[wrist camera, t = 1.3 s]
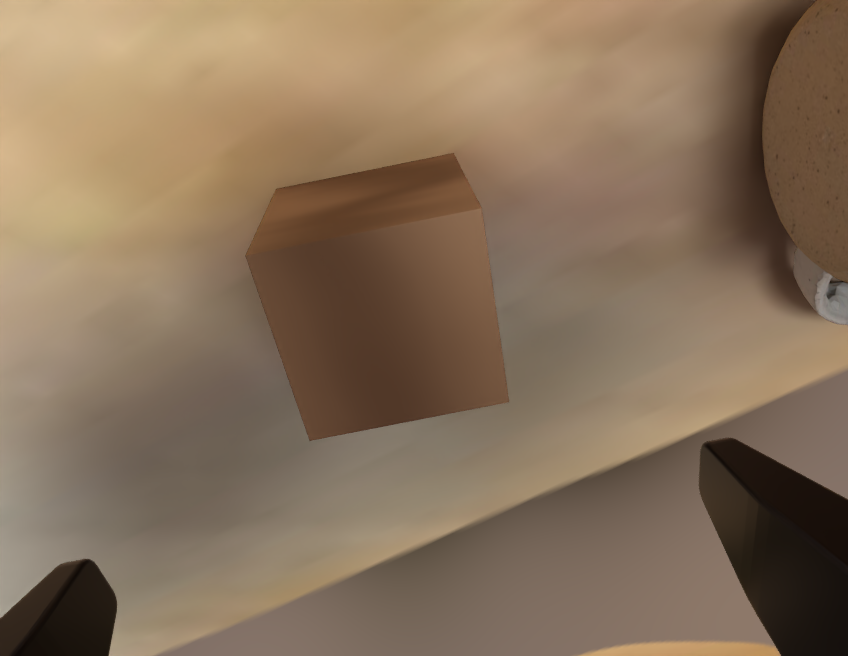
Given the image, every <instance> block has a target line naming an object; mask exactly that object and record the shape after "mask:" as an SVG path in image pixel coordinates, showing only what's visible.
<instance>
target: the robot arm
mask: <svg viewBox="0 0 848 656" xmlns="http://www.w3.org/2000/svg"><path fill="white" fill-rule="evenodd" d="M699 490H700V494H701V497H702V500H703V502H704V505H705V507H706V509H707V511H708V514H709V516H710V518H711V520H712V522H713V524H714V527H715V529H716V531H717V533H718V535H719V538H720V540H721V542H722V544H723V546H724V549H725V551H726V553H727V555H728V557H729V559H730V561H731V564H732V566H733V568H734V570H735V573H736V575H737V577H738V579H739V581H740V583H741V585H742V588H743V590H744V592H745V594H746V596H747V598H748V600H749V601H750V603H751V605H752V607H753V608H754V610H755V612H756V614H757V616H758V617H759V619H760V621H761V622H762V624H763V626H764V627H765V629H766V631H767V633H768V634H769V636H770V638H771V639H772V641H773V643H774V644H775V646H776V648H777V649H778V651H779V653H780V654H781V656H848V499H846V498H844V497H843V496H841V495H839V494H837V493H835V492H833V491H831V490H830V489H828V488H826V487H824V486H822V485H820V484H818V483H816V482H815V481H813V480H811V479H809V478H807V477H805V476H803V475H802V474H800V473H798V472H796V471H794V470H792V469H790V468H789V467H787V466H785V465H783V464H781V463H779V462H777V461H776V460H774V459H772V458H770V457H768V456H766V455H764V454H762V453H761V452H759V451H757V450H755V449H753V448H751V447H749V446H748V445H746V444H744V443H742V442H740V441H738V440H736V439H733V438H723V439H718V440H712V441H707V442H705V443H703V445H702V446H701V451H700V470H699ZM116 613H117V600H116V596H115V593H114V591H113V590H112V588H111V587H110V585H109V583H108V582H107V580H106V579H105V577H104V576H103V574H102V573H101V571H100V569H99V568H98V566H97V565H96V563H95V562H93V561H92V560H90V559H82V560H76V561H71V562H66V563H63V564H60V565H59V566H57V567H56V568H55V569H54V570H53V571H52V572H51V573H49V574H48V575H47V576H46V577H45V578H44V579H43V580H42V581H41V582H40V583H39V584H37V585H36V586H35V587H34V588H33V589H32V590H31V591H30V592H29V593H28V594H27V595H25V596H24V597H23V598H22V599H21V600H20V601H19V602H18V603H17V604H16V605H15V606H13V607H12V608H11V609H10V610H9V611H8V612H7V613H6V614H5V615H4V616H3V617H1V618H0V656H109V650H110V645H111V640H112V634H113V629H114V623H115V618H116Z"/></svg>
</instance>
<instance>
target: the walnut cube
mask: <svg viewBox="0 0 848 656" xmlns="http://www.w3.org/2000/svg"><path fill="white" fill-rule="evenodd" d="M246 259H247V261H248V264H249V267H250V270H251V273H252V276H253V279H254V282H255V284H256V287H257V290H258V293H259V296H260V299H261V302H262V305H263V308H264V310H265V313H266V316H267V319H268V322H269V325H270V328H271V331H272V333H273V336H274V339H275V342H276V345H277V348H278V351H279V354H280V356H281V359H282V362H283V365H284V368H285V371H286V374H287V377H288V380H289V382H290V385H291V388H292V391H293V394H294V397H295V400H296V403H297V405H298V408H299V411H300V414H301V417H302V420H303V423H304V426H305V428H306V431H307V434H308V437H309V440H310V441H311V440H317V439H322V438H327V437H332V436H337V435H342V434H347V433H352V432H358V431H363V430H368V429H373V428H378V427H383V426H388V425H393V424H399V423H404V422H409V421H414V420H419V419H424V418H429V417H434V416H440V415H445V414H450V413H455V412H460V411H465V410H470V409H475V408H481V407H486V406H491V405H496V404H501V403H506V402H509V397H508V390H507V383H506V376H505V369H504V362H503V355H502V348H501V341H500V334H499V327H498V320H497V313H496V306H495V299H494V292H493V285H492V278H491V271H490V264H489V257H488V250H487V243H486V236H485V229H484V222H483V215H482V208H481V206H480V204H479V202H478V200H477V198H476V196H475V194H474V192H473V190H472V188H471V186H470V184H469V183H468V181H467V179H466V177H465V175H464V173H463V171H462V169H461V167H460V165H459V163H458V161H457V159H456V157H455V155H454V153H451V154H447V155H442V156H437V157H432V158H427V159H422V160H417V161H412V162H407V163H402V164H397V165H392V166H387V167H382V168H378V169H373V170H368V171H363V172H358V173H353V174H348V175H343V176H338V177H333V178H328V179H323V180H318V181H313V182H309V183H304V184H299V185H294V186H289V187H284V188H279V189H276V191H275V193H274V195H273V197H272V199H271V201H270V204H269V206H268V208H267V210H266V212H265V215H264V217H263V219H262V221H261V223H260V225H259V228H258V230H257V232H256V234H255V236H254V238H253V241H252V243H251V245H250V247H249V249H248V251H247V254H246Z"/></svg>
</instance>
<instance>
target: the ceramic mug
mask: <svg viewBox="0 0 848 656" xmlns="http://www.w3.org/2000/svg"><path fill="white" fill-rule="evenodd" d="M762 142H763V155H764V169H765V174H766V178H767V182H768V187H769V191H770V195H771V198H772V200H773V203H774V206H775V208H776V211H777V213H778V216H779V219H780V221H781V223H782V224H783V226H784V227H785V229H786V231H787V232H788V234H789V235H790V237H791V239H792V240H793V242H794V243H795V245H796V246H797V249H796V251H795V257H794V266H793V269H794V277H795V279H796V281H797V284H798V285H799V287H800V289H801V291H802V293H803V295H804V296H805V298H806V299H807V300H808V302H809V303H810V305H811V306H812V308H813V309H814V310H815V311H816V312H817V313H818V314H819V315H821V316H822V317H823V318H825V319H826V320H828V321H830V322H833V323H836V324H841V325H848V0H817V1H816V2H814V3H813V4H812V5H811V6H810V8H809V9H808V10H807V11H806V12H805V13H804V14H803V16H802V17H801V18H800V20H799V21H798V22H797V24H796V25H795V26H794V28H793V29H792V30H791V32H790V34H789V36H788V38H787V40H786V42H785V44H784V46H783V48H782V50H781V52H780V54H779V56H778V58H777V61H776V63H775V65H774V67H773V69H772V72H771V76H770V79H769V84H768V89H767V93H766V98H765V103H764V110H763V123H762ZM832 277H835V278H837V279H839V280H842V281H844V282H847V283H844V282H841V283H830V284H829V282H830V280H831V279H832Z"/></svg>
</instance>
